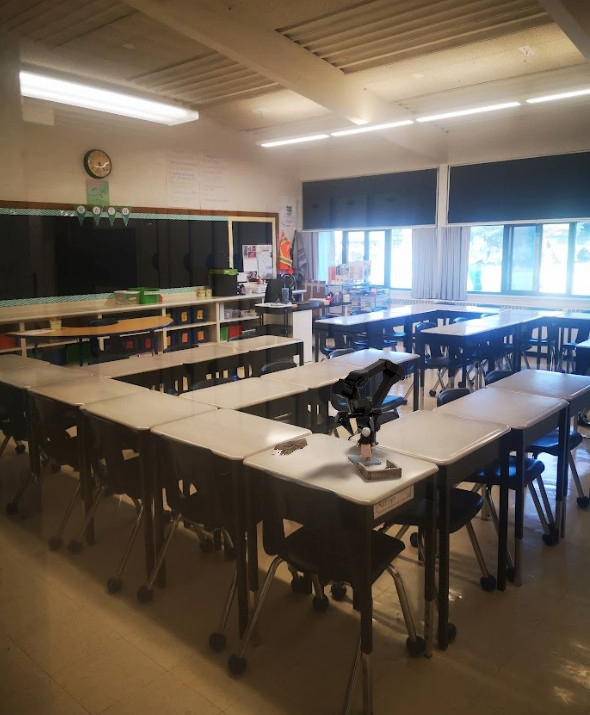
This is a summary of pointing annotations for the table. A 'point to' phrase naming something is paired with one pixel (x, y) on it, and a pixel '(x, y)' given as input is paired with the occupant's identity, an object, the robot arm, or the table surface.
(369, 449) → the grandmother figurine
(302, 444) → the wooden fragment
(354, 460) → the slate mat
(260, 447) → the table surface
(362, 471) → the walnut stall
